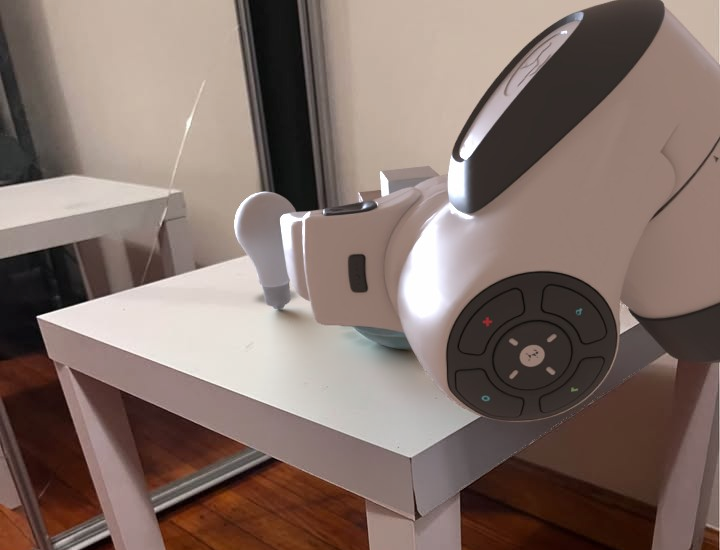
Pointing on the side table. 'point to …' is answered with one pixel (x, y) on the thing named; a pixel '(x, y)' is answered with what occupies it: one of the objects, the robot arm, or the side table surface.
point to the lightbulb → (265, 243)
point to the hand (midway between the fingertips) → (417, 211)
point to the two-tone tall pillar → (404, 178)
